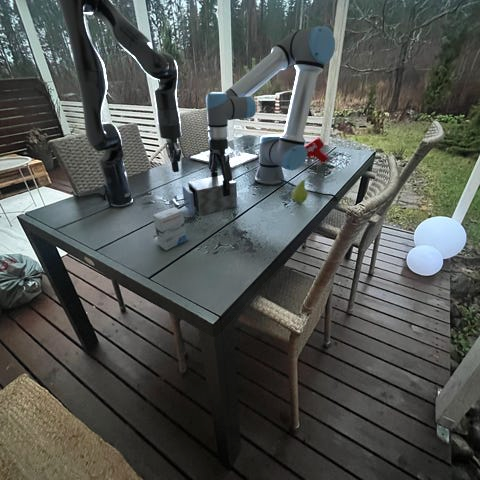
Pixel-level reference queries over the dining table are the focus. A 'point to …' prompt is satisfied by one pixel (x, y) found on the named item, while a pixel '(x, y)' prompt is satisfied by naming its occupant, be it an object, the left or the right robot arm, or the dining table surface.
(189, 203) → the drawer
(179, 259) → the dining table surface
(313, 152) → the toy gun
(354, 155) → the dining table surface
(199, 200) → the white box dark end
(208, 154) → the relief map
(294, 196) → the fruit
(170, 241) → the ink box
